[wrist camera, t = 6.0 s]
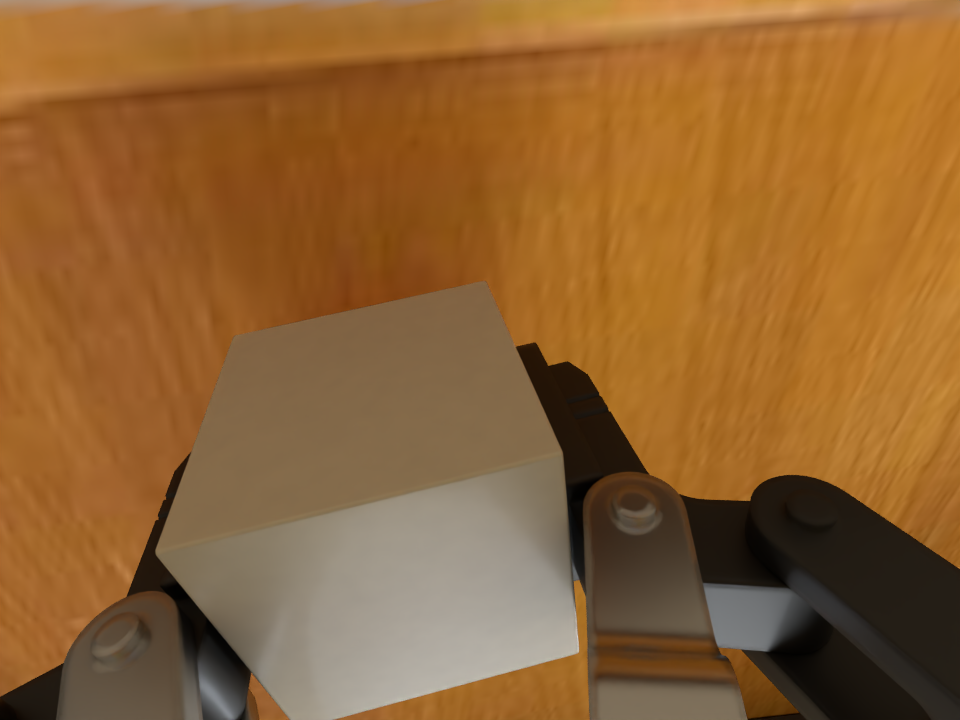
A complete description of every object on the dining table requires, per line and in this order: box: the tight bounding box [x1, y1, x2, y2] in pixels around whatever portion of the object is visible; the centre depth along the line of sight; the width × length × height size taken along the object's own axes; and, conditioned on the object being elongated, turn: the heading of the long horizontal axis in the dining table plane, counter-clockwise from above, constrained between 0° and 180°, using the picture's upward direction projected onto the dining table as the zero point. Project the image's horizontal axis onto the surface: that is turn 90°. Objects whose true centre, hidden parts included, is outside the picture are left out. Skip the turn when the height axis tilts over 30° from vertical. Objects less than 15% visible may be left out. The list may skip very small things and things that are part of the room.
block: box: [155, 281, 579, 720], centre depth 9 cm, size 4×4×4 cm
